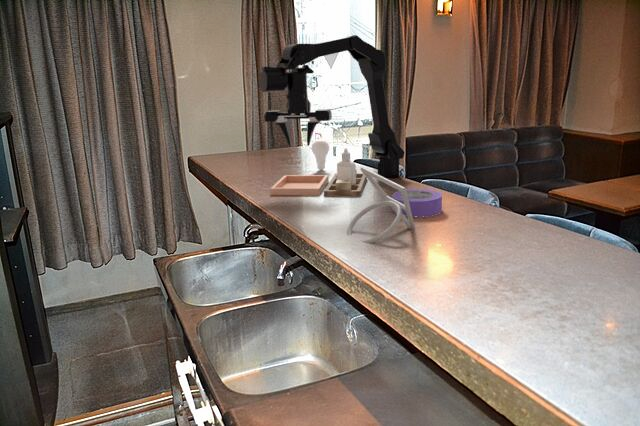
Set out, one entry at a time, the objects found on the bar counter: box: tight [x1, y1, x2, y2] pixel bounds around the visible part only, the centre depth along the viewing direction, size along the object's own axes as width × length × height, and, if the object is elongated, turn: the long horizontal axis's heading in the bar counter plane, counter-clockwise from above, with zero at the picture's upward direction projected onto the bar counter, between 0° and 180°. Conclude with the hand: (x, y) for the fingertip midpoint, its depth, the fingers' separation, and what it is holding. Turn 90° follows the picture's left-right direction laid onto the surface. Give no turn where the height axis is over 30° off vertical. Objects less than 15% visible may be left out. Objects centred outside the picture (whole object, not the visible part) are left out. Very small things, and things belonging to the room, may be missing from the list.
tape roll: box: [391, 188, 443, 218], centre depth 127 cm, size 12×12×5 cm
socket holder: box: [323, 172, 368, 197], centre depth 156 cm, size 10×24×2 cm, turn 171°
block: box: [335, 180, 351, 190], centre depth 148 cm, size 4×4×4 cm
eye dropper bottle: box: [336, 148, 357, 185], centre depth 154 cm, size 4×6×12 cm
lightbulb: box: [311, 138, 330, 171], centre depth 182 cm, size 6×6×11 cm
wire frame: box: [346, 166, 416, 244], centre depth 109 cm, size 18×13×16 cm
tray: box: [269, 174, 330, 196], centre depth 156 cm, size 14×18×2 cm
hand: (299, 145), depth 153 cm, fingers open, 5 cm apart
